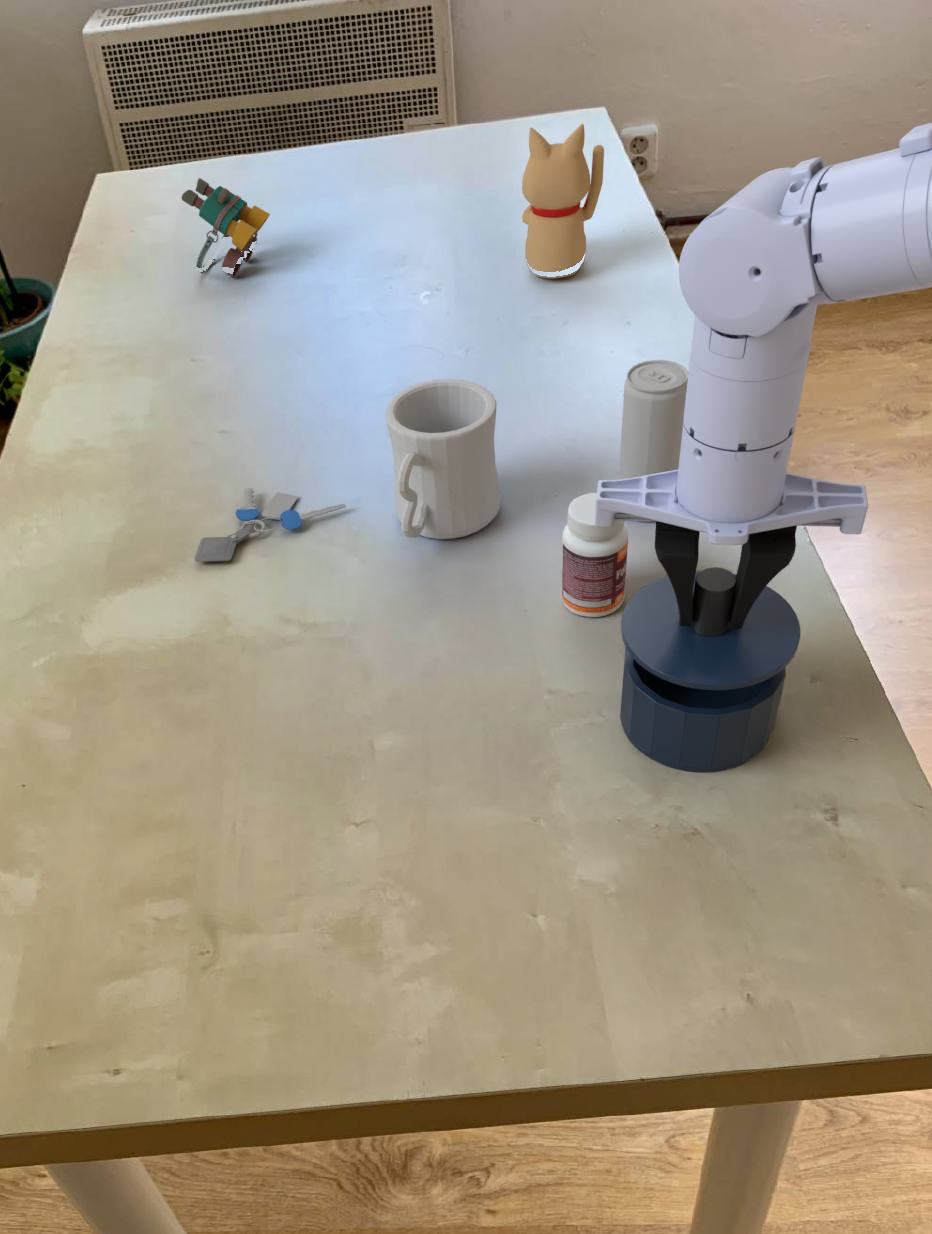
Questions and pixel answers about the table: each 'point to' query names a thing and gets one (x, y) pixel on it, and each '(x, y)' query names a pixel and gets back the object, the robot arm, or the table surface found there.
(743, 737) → the pot
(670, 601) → the lid
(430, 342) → the table surface
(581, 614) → the pill bottle
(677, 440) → the beverage can
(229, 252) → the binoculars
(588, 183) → the figurine
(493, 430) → the mug
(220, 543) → the key chain
